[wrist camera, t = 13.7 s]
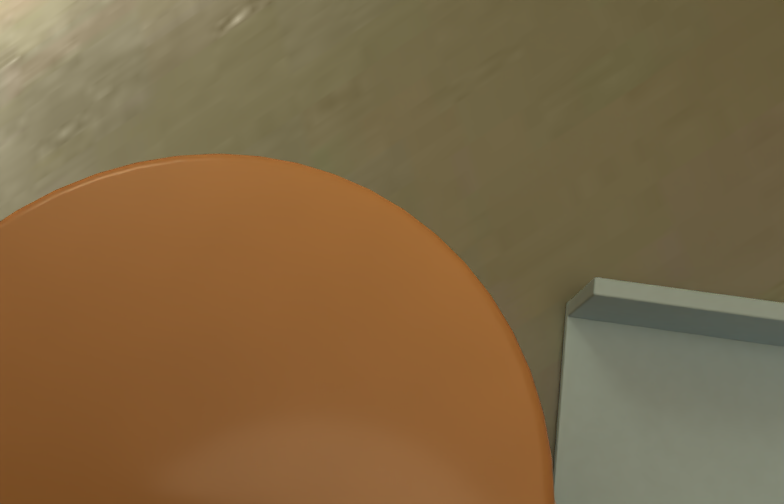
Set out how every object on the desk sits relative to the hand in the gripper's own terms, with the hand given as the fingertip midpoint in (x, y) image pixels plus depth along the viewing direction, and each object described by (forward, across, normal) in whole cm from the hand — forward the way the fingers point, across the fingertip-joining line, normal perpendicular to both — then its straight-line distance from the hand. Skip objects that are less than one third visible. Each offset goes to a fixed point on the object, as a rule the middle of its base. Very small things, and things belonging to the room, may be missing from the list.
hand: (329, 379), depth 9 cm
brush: (+4, +1, +8) cm, 9 cm away
